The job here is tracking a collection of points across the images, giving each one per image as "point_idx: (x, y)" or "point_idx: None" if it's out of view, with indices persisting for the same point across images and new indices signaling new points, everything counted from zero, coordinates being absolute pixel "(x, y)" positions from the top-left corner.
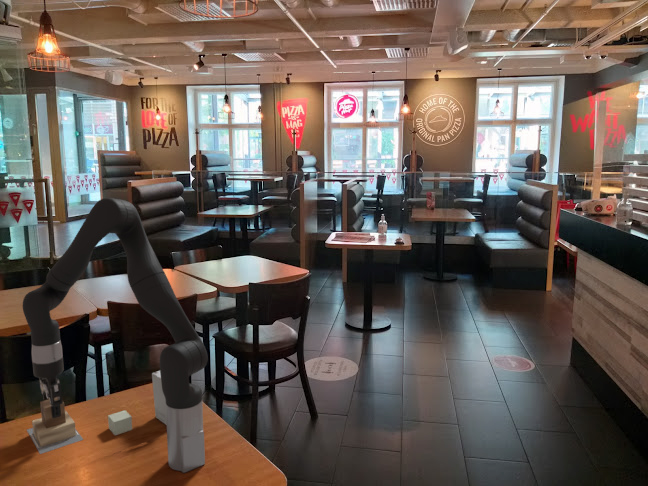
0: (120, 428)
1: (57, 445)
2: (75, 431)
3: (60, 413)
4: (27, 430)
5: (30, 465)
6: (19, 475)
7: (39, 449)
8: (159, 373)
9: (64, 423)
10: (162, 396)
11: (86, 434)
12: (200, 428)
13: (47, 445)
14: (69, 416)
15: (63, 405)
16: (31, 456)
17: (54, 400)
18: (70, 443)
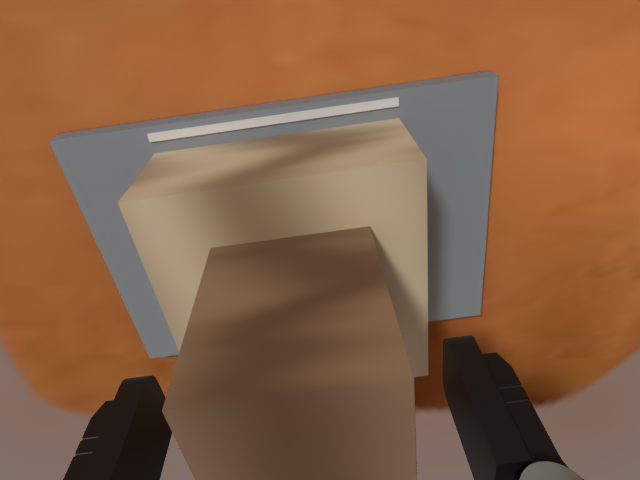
0: None
1: (453, 236)
2: (405, 130)
3: (481, 354)
4: (162, 355)
5: (521, 339)
6: (568, 372)
7: (429, 315)
8: None
9: (383, 237)
10: None
11: (384, 29)
12: None
13: None
14: (265, 187)
15: (407, 360)
16: (439, 334)
17: (263, 451)
18: (488, 166)
